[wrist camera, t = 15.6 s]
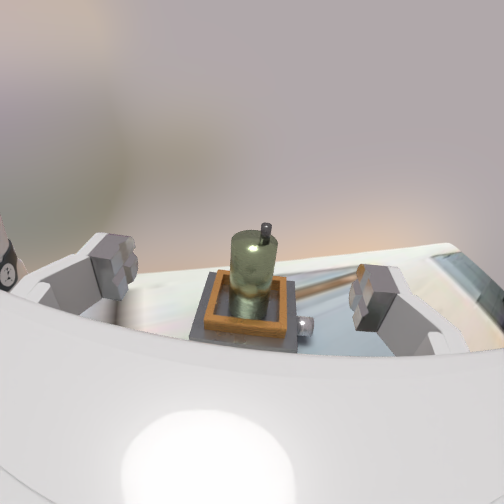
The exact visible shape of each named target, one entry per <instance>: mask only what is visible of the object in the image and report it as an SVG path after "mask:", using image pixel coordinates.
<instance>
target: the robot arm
mask: <svg viewBox="0 0 504 504" xmlns="http://www.w3.org/2000/svg"><path fill="white" fill-rule="evenodd" d="M134 249H135V242H134V239H133V238H132V237H131V236H123V235H116V234H108V233H101V232H100V233H96V234H95V235H94V236H93V237H92V238H91V239H90V240H89V241H88V242H87V243H86V244H85V245H84V246H83V247H82V248H81V249H80V251H78V252H77V253H76V254H71V255H69V256H67V257H64V258H62V259H60V260H58V261H55V262H53V263H51V264H49V265H47V266H45V267H42V268H40V269H38V270H36V271H34V272H32V273H30V274H28V272H27V270H26V268H25V266H24V264H23V262H22V261H21V260H20V259H18V258H17V256H16V253H15V250H14V247H13V245H12V243H11V241H10V240H9V239H8V238H7V235H6V232H5V228H4V225H3V222H2V218H1V215H0V504H504V348H501V349H493V350H485V351H477V352H470V350H469V348H468V346H467V344H466V342H465V340H464V338H463V335H462V333H461V331H460V330H459V329H458V328H456V327H455V326H454V325H453V324H452V323H450V322H449V321H448V320H447V319H445V318H444V317H443V316H442V315H441V314H439V313H438V312H437V311H436V310H434V309H433V308H432V307H431V306H429V305H428V304H427V303H426V302H424V301H423V300H422V299H420V298H419V297H418V296H417V295H413V294H412V292H411V290H410V288H409V286H408V284H407V282H406V280H405V278H404V276H403V274H402V272H401V271H400V269H399V268H398V267H391V266H378V265H367V264H360V265H359V267H358V269H357V271H356V275H357V278H358V279H357V280H356V281H354V282H353V283H352V285H351V288H350V293H349V305H350V308H351V309H352V310H353V311H354V315H353V317H352V318H353V322H354V326H355V330H356V331H365V332H377V334H378V335H379V337H380V338H381V339H382V340H383V341H384V343H385V344H386V345H387V346H388V347H389V349H390V350H391V351H392V352H393V354H394V355H395V356H396V357H359V356H328V355H310V354H296V353H283V352H273V351H263V350H254V349H245V348H237V347H230V346H223V345H216V344H209V343H203V342H196V341H191V340H185V339H179V338H174V337H168V336H163V335H158V334H153V333H148V332H143V331H139V330H134V329H129V328H125V327H121V326H117V325H112V324H108V323H104V322H100V321H97V320H93V319H89V318H85V317H82V316H78V315H80V314H81V313H82V312H84V311H85V310H87V309H88V308H89V307H91V306H92V305H94V304H95V303H96V302H98V301H99V300H101V299H102V298H107V299H112V300H118V301H122V299H123V297H124V296H125V294H126V292H127V291H128V284H129V283H131V282H133V281H134V279H135V277H136V275H137V271H138V259H137V256H136V255H135V254H134V253H133V250H134Z"/></svg>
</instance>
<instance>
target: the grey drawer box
mask: <svg viewBox="0 0 504 504" xmlns="http://www.w3.org/2000/svg"><path fill="white" fill-rule="evenodd" d="M229 283H230V271H226V270H218V271H217V273H215V272H209V275H208V278H207V281H206V284H205V287H204V290H203V293H202V296H201V300H200V303H199V306H198V309H197V312H196V315H195V319H194V322H193V325H192V328H191V331H190V335H189V340H191V341H196V342H203V343H209V344H216V345H223V346H230V347H237V348H245V349H254V350H263V351H273V352H283V353H297V350H298V349H297V336H310V337H311V336H312V334H313V329H314V319H313V317H303V316H296V299H295V281H286V277H279V276H273V278H272V285H271V291H270V297H269V303H268V309H267V313H266V314H265V316H264V317H262V318H261V319H259V320H253V319H244V318H236V317H234V316H233V315H232V314H231V312H230V311H229Z"/></svg>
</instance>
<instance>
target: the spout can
mask: <svg viewBox="0 0 504 504" xmlns="http://www.w3.org/2000/svg"><path fill="white" fill-rule="evenodd" d="M271 228H272V225H271V224H270V223H263V224H262V225H261V231H258V230H246V231H241V232H238V233H236V234H235V235H234V236H233V237H232V240H231V260H230V261H231V262H230V283H229V311H230V312H231V314H232V315H233V316H234V317H236V318H244V319H253V320H259V319H261V318H262V317H264V316H265V314H266V313H267V309H268V303H269V297H270V291H271V285H272V278H273V272H274V266H275V259H276V253H277V246H278V242H277V240H276V239H275V238H274V237H273V236H272V235H271Z"/></svg>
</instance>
